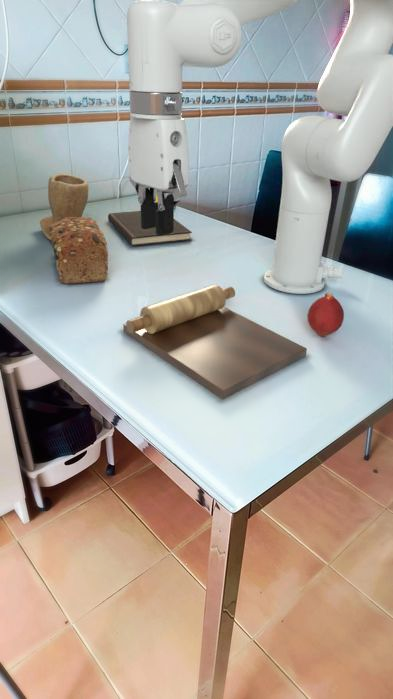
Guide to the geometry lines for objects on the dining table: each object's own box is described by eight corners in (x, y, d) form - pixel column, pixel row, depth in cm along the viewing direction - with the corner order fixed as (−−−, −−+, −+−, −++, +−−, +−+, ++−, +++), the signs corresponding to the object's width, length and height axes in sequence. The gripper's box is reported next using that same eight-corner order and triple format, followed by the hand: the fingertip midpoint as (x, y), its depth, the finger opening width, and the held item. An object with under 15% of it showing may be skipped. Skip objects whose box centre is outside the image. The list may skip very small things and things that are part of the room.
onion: (314, 324, 84) (322, 282, 80) (345, 335, 81) (354, 292, 77) (298, 336, 80) (305, 292, 76) (329, 348, 77) (339, 303, 73)
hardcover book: (161, 217, 140) (161, 209, 139) (191, 240, 122) (191, 231, 121) (108, 221, 135) (107, 213, 134) (131, 246, 117) (130, 237, 116)
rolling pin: (222, 298, 89) (223, 276, 86) (239, 307, 86) (241, 284, 83) (122, 333, 76) (121, 309, 74) (138, 344, 73) (137, 319, 71)
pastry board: (203, 304, 90) (204, 296, 89) (305, 356, 75) (307, 348, 74) (123, 332, 80) (123, 324, 79) (222, 399, 64) (223, 390, 64)
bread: (110, 282, 97) (107, 234, 92) (56, 287, 95) (50, 237, 89) (99, 252, 113) (96, 209, 108) (52, 255, 110) (47, 211, 105)
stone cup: (96, 243, 118) (91, 180, 111) (47, 247, 114) (38, 182, 107) (85, 225, 130) (80, 168, 123) (40, 229, 126) (31, 170, 119)
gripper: (213, 110, 66) (207, 239, 76) (143, 101, 77) (146, 216, 86) (170, 111, 62) (170, 248, 71) (103, 102, 72) (110, 222, 82)
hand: (157, 229), depth 79 cm, fingers open, 3 cm apart
